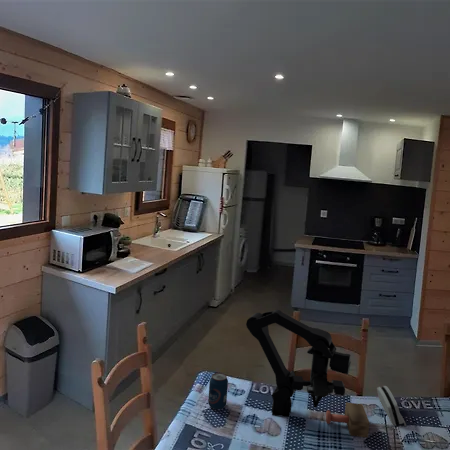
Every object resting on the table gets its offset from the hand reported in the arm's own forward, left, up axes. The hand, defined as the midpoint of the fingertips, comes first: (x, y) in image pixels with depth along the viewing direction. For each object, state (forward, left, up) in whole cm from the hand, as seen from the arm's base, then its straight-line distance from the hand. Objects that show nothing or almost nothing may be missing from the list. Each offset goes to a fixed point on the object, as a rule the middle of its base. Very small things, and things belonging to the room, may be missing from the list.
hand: (315, 406), depth 161 cm
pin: (+9, 0, -5) cm, 11 cm away
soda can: (-36, +3, -6) cm, 36 cm away
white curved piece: (+30, +12, -6) cm, 33 cm away
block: (+15, 0, -6) cm, 16 cm away
